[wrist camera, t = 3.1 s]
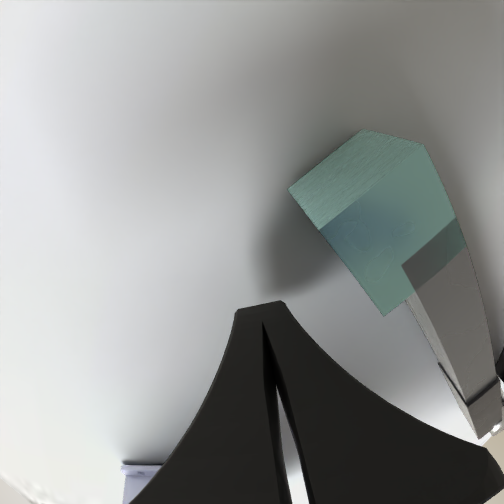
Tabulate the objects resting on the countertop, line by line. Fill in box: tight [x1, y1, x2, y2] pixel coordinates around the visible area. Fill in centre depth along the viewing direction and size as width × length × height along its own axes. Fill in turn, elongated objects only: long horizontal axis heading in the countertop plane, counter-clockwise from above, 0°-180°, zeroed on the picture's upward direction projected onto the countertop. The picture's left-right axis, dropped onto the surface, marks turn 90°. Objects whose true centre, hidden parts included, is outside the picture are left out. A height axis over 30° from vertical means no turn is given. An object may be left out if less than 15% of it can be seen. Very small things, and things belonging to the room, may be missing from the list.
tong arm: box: [287, 129, 504, 439], centre depth 11 cm, size 22×4×3 cm, turn 40°
